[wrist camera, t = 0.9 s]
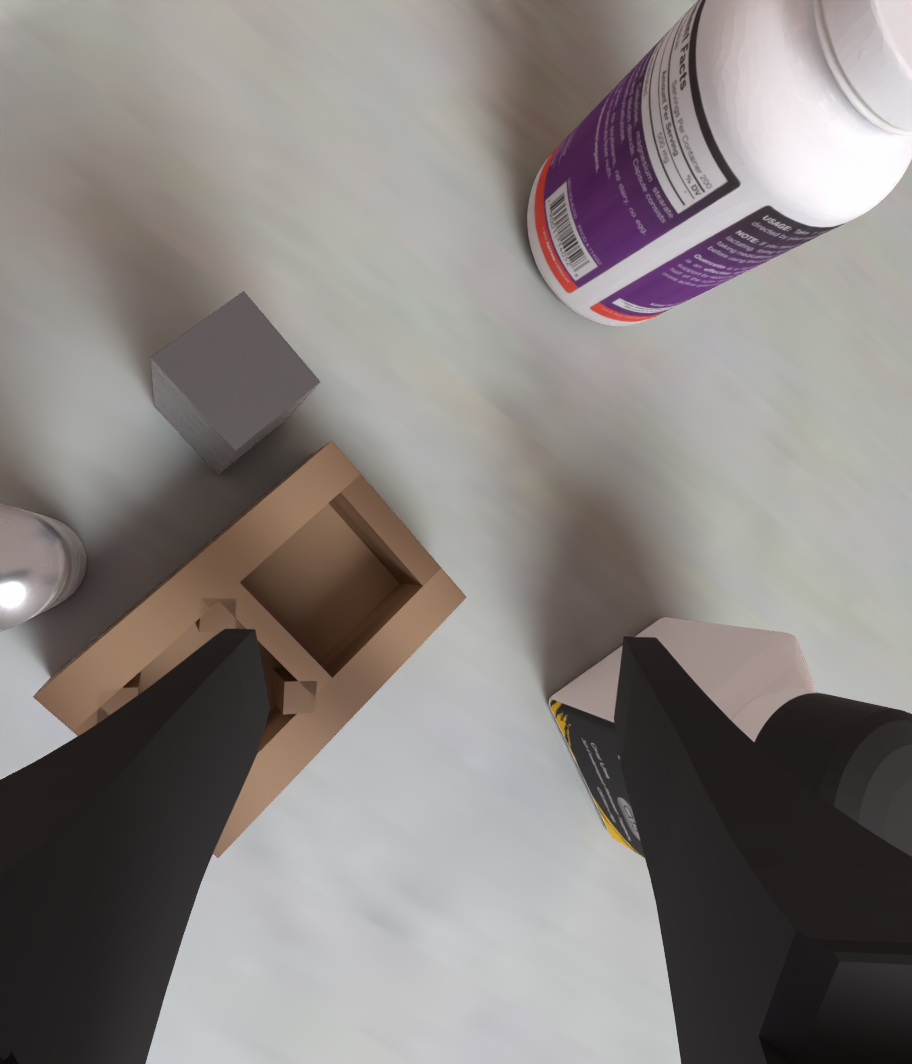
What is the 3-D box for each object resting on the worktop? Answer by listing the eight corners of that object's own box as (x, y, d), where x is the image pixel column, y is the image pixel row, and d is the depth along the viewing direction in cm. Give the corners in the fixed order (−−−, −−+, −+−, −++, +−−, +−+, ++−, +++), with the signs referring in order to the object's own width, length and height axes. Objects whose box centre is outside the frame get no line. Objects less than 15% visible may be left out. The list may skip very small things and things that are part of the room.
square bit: (218, 475, 23) (235, 450, 17) (154, 406, 22) (150, 358, 17) (284, 421, 24) (320, 382, 18) (224, 353, 23) (244, 291, 18)
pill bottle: (690, 228, 32) (1066, -3, 18) (628, 368, 30) (992, 224, 17) (562, 111, 29) (895, -259, 16) (485, 257, 27) (786, -20, 14)
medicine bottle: (542, 698, 28) (790, 794, 17) (662, 613, 30) (944, 648, 19) (608, 838, 29) (881, 1014, 18) (718, 745, 31) (1015, 848, 20)
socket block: (211, 820, 22) (218, 858, 20) (50, 677, 21) (33, 696, 18) (434, 592, 26) (466, 597, 23) (312, 453, 24) (332, 440, 21)
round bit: (27, 631, 20) (-24, 661, 15) (-53, 560, 20) (-137, 564, 14) (108, 565, 21) (89, 570, 16) (36, 494, 21) (-12, 474, 15)
